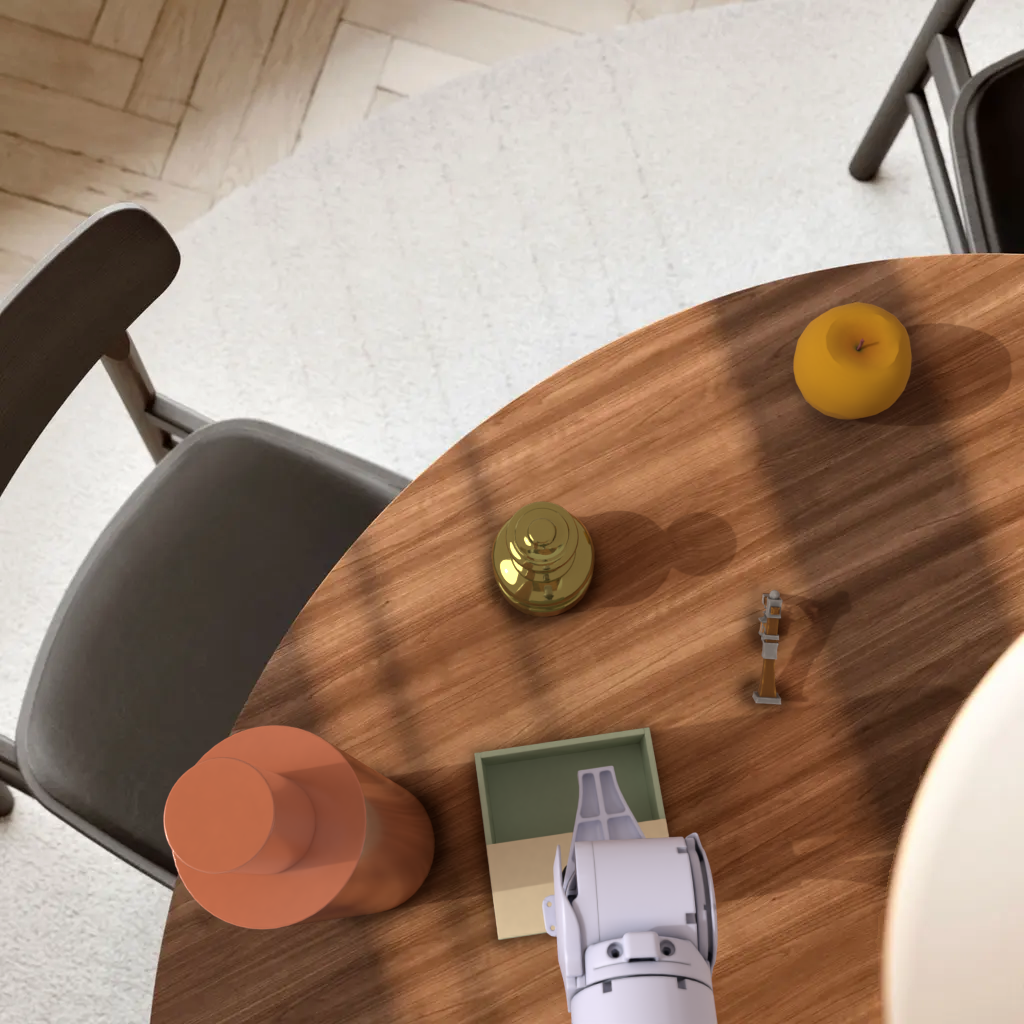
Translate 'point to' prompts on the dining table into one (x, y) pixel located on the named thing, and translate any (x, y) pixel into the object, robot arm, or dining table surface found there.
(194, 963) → the dining table surface
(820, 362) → the apple
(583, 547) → the brass weight
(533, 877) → the door
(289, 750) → the vase
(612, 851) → the robot arm
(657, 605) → the dining table surface
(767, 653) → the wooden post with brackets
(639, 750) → the box
